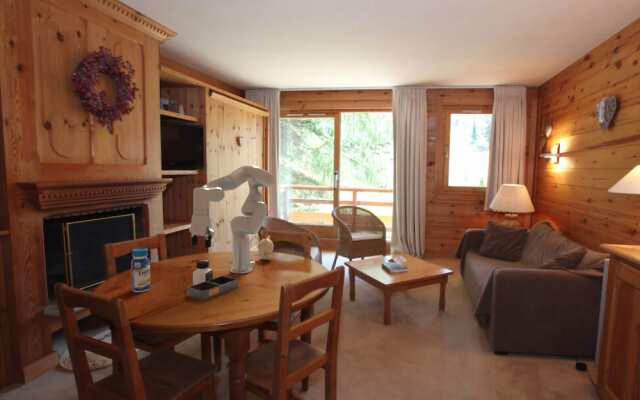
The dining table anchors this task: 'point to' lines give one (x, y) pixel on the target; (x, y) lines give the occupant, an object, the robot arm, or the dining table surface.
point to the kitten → (265, 248)
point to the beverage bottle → (140, 270)
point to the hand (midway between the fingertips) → (201, 246)
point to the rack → (212, 288)
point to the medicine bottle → (202, 272)
